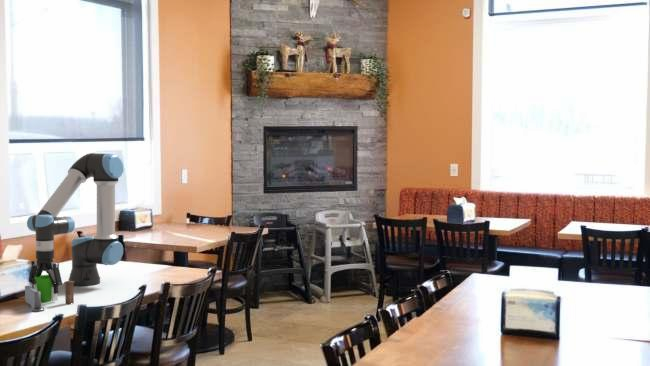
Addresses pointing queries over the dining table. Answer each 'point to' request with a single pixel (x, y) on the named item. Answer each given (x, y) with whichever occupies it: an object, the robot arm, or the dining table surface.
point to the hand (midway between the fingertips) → (45, 299)
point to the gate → (33, 297)
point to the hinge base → (37, 310)
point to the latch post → (69, 292)
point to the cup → (44, 287)
